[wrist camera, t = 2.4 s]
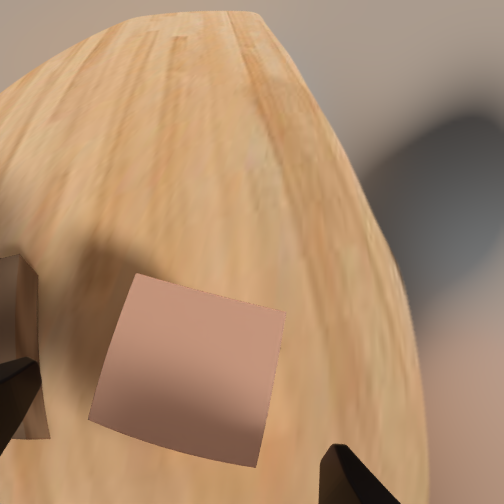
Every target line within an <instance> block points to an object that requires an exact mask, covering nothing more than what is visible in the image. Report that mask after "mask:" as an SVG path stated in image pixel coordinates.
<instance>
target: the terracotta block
mask: <svg viewBox="0 0 504 504" xmlns="http://www.w3.org/2000/svg"><path fill="white" fill-rule="evenodd" d="M285 317H286V312H284V311H280V310H276V309H271V308H267V307H263V306H259V305H255V304H251V303H246V302H242V301H238V300H234V299H230V298H226V297H222V296H219V295H215V294H211V293H207V292H203V291H199V290H196V289H192V288H188V287H185V286H181V285H177V284H174V283H170V282H166V281H163V280H159V279H156V278H152V277H149V276H145V275H142V274H139V273H136V275H135V277H134V280H133V282H132V285H131V287H130V290H129V293H128V295H127V298H126V301H125V303H124V306H123V309H122V311H121V314H120V317H119V320H118V322H117V325H116V328H115V331H114V334H113V337H112V340H111V343H110V346H109V349H108V352H107V355H106V358H105V361H104V364H103V368H102V371H101V374H100V377H99V381H98V384H97V388H96V391H95V395H94V398H93V402H92V405H91V409H90V413H89V417H88V420H90V421H93V422H95V423H97V424H100V425H102V426H105V427H107V428H110V429H112V430H115V431H117V432H120V433H123V434H125V435H128V436H131V437H134V438H137V439H139V440H142V441H145V442H148V443H152V444H155V445H158V446H161V447H165V448H168V449H171V450H175V451H179V452H182V453H186V454H190V455H194V456H198V457H202V458H207V459H211V460H216V461H221V462H226V463H231V464H236V465H242V466H248V467H254V468H256V465H257V461H258V456H259V452H260V447H261V443H262V438H263V433H264V429H265V424H266V419H267V414H268V409H269V404H270V399H271V394H272V389H273V384H274V379H275V373H276V368H277V363H278V357H279V352H280V346H281V341H282V335H283V329H284V323H285Z"/></svg>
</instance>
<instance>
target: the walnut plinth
mask: <svg viewBox="0 0 504 504" xmlns="http://www.w3.org/2000/svg"><path fill="white" fill-rule="evenodd" d="M37 294H38V275H37V274H36V273H35V272H34V271H33V269H32V268H31V267H30V266H29V265H28V264H27V263H26V261H25V260H24V259H23V258H22V257H21V256H20V254H19V255H14V256H9V257H5V258H0V363H4V362H8V361H11V360H15V359H18V358H22V357H26V356H28V357H30V358H32V359H34V360H36V361H37V362H38V364H39V350H38V327H37ZM39 368H40V364H39ZM11 439H50V434H49V429H48V424H47V418H46V413H45V406H44V400H43V392H42V384H41V387H40V389H39V391H38V393H37V395H36V397H35V399H34V400H33V402H32V404H31V406H30V408H29V410H28V412H27V414H26V416H25V418H24V419H23V421H22V423H21V425H20V426H19V428H18V429H17V431H16V432H15V434H14V435H13V437H12V438H11Z"/></svg>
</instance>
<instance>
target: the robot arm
mask: <svg viewBox="0 0 504 504" xmlns="http://www.w3.org/2000/svg"><path fill="white" fill-rule="evenodd" d="M41 384H42V379H41V374H40V368H39V364H38V362H37V361H36V360H34V359H32V358H30V357H28V356H26V357H22V358H18V359H15V360H11V361H8V362H4V363H0V456H1V454H2V453H3V451H4V449H5V448H6V446H7V445H8V443H9V441H10V440H11V438H12V437H13V435H14V434H15V432H16V431H17V429H18V428H19V426H20V425H21V423H22V421H23V419H24V418H25V416H26V414H27V412H28V410H29V408H30V406H31V404H32V402H33V400H34V399H35V397H36V395H37V393H38V391H39V389H40V387H41ZM319 504H401V503H400V502H399V501H398V500H397V499H396V498H395V497H394V496H393V495H392V494H391V493H390V492H389V491H388V490H387V489H386V488H385V487H384V486H383V485H382V483H381V482H380V481H379V480H378V479H377V478H376V477H375V476H374V475H373V474H372V473H371V472H370V470H369V469H368V468H367V467H366V466H365V465H364V464H363V463H362V462H361V461H360V459H359V458H358V457H357V456H356V455H355V454H354V453H353V452H352V451H351V449H350V448H349V447H348V446H347V445H345V444H332V445H331V446H330V448H329V449H328V451H327V452H326V454H325V455H324V457H323V458H322V460H321V463H320V479H319Z"/></svg>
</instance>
